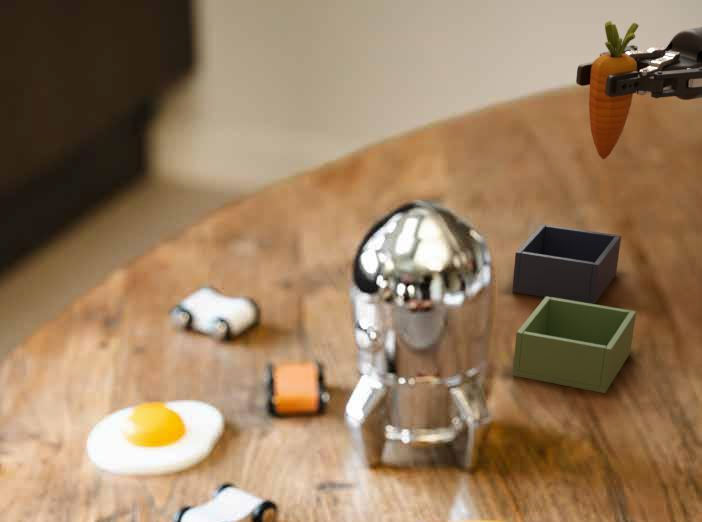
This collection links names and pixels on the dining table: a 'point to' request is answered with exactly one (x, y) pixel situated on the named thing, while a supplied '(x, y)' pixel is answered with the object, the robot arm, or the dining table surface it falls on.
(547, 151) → the dining table surface
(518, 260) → the blue bin
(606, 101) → the carrot
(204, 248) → the dining table surface
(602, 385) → the green bin
